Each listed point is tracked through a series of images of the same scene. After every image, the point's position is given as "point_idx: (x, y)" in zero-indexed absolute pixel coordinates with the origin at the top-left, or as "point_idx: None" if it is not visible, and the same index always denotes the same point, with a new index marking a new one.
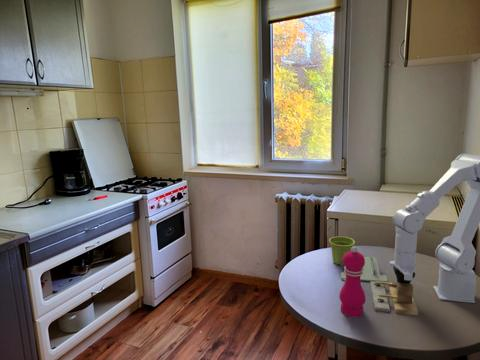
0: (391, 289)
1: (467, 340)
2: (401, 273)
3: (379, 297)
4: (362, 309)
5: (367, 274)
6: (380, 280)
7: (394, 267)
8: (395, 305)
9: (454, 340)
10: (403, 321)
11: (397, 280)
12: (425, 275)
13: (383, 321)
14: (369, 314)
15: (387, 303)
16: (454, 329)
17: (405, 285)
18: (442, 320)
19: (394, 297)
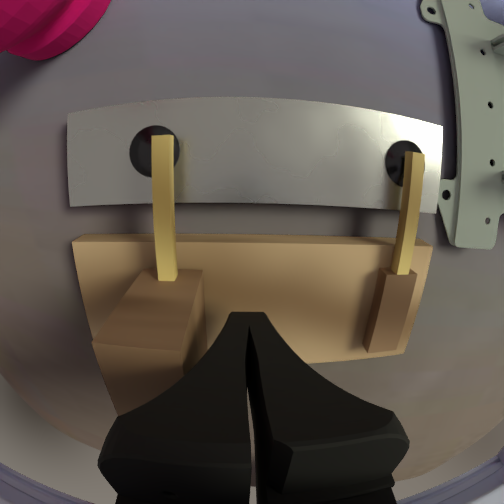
0: (341, 255)
1: (45, 417)
2: (116, 487)
3: (200, 144)
4: (15, 53)
5: (501, 133)
6: (460, 203)
7: (364, 451)
8: (108, 248)
9: (25, 389)
10: (31, 262)
11: (227, 364)
12: (466, 395)
13: (5, 167)
14: (40, 92)
15: (127, 197)
16: (78, 415)
17: (142, 402)
18: (113, 408)
19: (160, 259)
